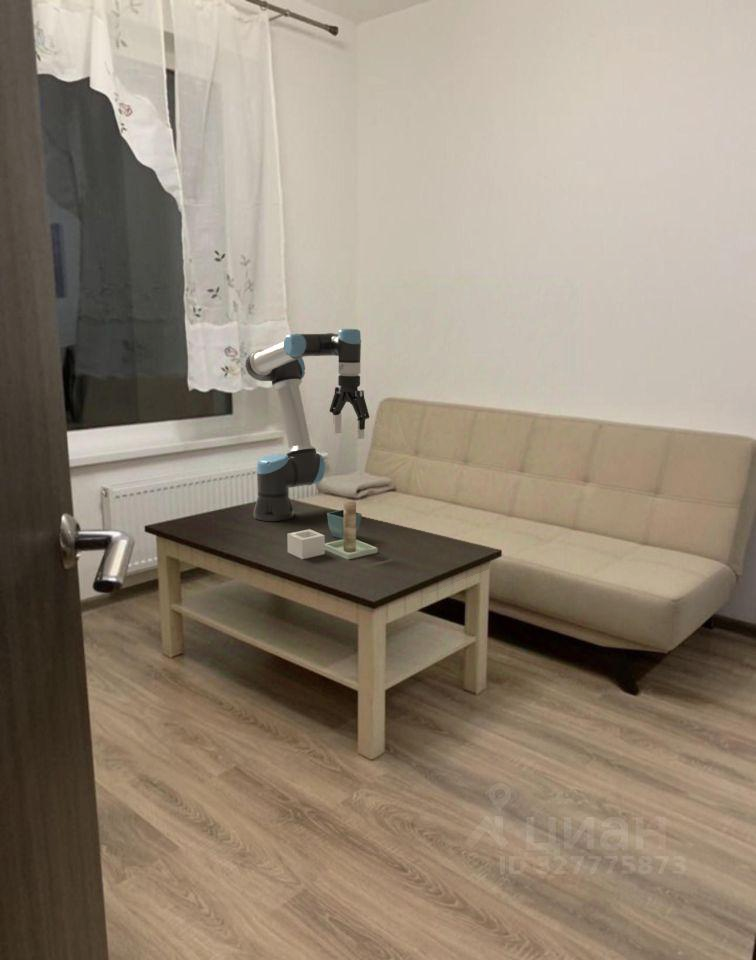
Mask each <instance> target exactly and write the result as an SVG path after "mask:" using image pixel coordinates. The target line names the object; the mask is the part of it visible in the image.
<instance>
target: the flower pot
mask: <svg viewBox="0 0 756 960" xmlns="http://www.w3.org/2000/svg"><path fill="white" fill-rule="evenodd" d="M326 515H327V525H328V529H329V531H330V534H331V535H332V536H333V537H334V538H337V539H339V540H343V539H344V509H341V510H336V511H331V512H326ZM362 515H363V514H362V513H360V512H357V511H356V535H358V533H359V530H360V527H361V522H362V521H361V520H362Z"/></svg>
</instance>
